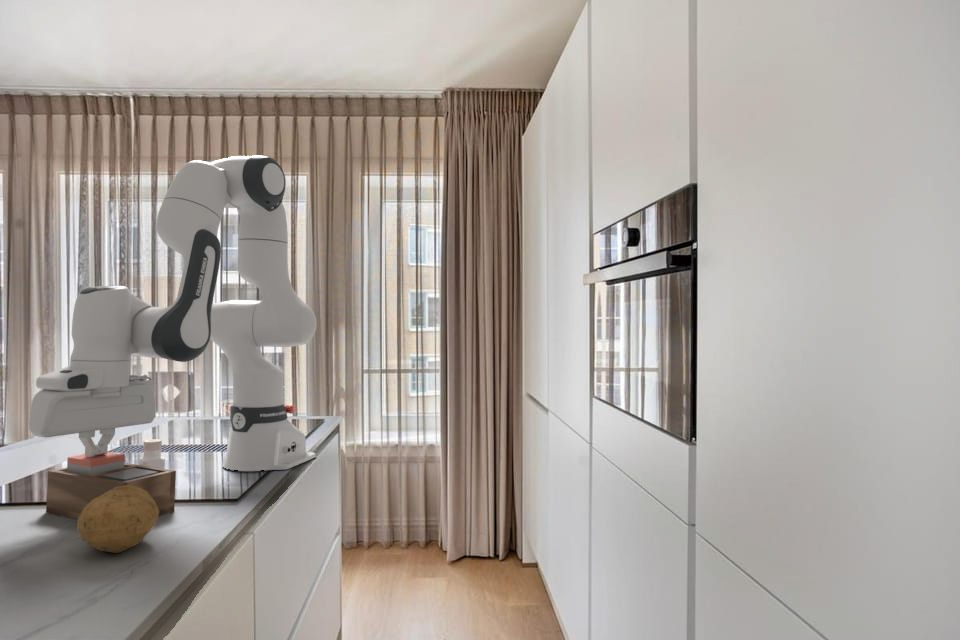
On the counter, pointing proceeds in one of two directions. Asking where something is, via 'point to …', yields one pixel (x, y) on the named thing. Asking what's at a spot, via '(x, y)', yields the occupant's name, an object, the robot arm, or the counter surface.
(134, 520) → the potato
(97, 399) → the robot arm
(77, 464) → the red and grey cube
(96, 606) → the counter surface
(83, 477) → the wooden divided tray
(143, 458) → the pepper shaker
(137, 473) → the grey cube
